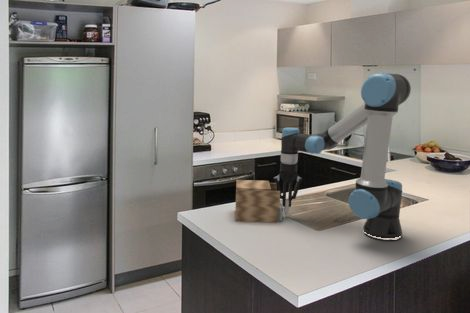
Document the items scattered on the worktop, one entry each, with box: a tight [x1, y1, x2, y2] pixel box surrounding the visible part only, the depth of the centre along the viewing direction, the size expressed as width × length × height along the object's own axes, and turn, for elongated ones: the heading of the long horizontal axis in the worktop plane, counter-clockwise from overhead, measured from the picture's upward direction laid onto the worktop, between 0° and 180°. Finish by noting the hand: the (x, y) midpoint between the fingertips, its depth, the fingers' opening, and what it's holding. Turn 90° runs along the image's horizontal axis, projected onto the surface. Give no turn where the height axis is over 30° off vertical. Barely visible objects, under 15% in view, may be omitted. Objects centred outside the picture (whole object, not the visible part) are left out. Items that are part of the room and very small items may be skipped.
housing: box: [234, 179, 281, 223], centre depth 191 cm, size 19×15×15 cm
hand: (286, 213), depth 192 cm, fingers closed
